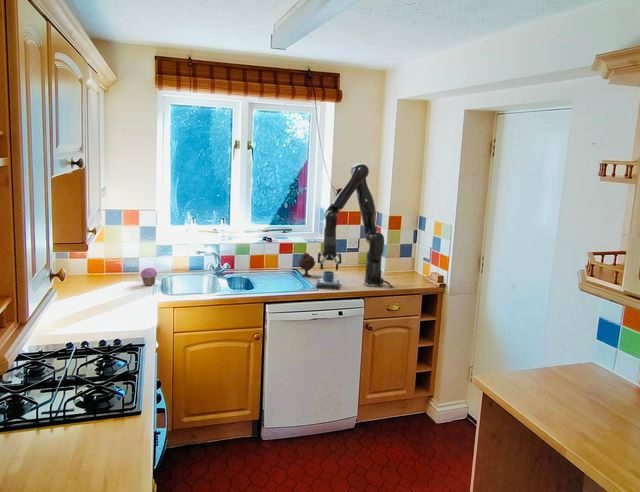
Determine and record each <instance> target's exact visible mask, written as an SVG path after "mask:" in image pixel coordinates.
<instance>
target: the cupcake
mask: <svg viewBox="0 0 640 492" xmlns="http://www.w3.org/2000/svg"><path fill="white" fill-rule="evenodd" d="M157 275H158V271H157V270H156V269H155V268H153V267H147V268H144V269H142V270H141V272H140V278H141V279H142V283H143V284H144V286H148V287H149V286H153V285H155V283H156V277H157Z"/></svg>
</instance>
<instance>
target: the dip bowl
mask: <svg viewBox="0 0 640 492" xmlns="http://www.w3.org/2000/svg"><path fill="white" fill-rule="evenodd" d="M322 273H323V275H322V276H323V277H322V279H323V280H324V281H325V282H332V281H333V279H334V278H335V277H334V275H335V272H334V271H332V270H325V271H323V272H322Z"/></svg>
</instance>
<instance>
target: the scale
mask: <svg viewBox="0 0 640 492" xmlns="http://www.w3.org/2000/svg"><path fill="white" fill-rule="evenodd" d="M316 289H322V290H339V289H340V280H339V279H333V281H332V282H325V281H324V280H323V278H319V279H317V283H316Z"/></svg>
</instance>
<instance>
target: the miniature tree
mask: <svg viewBox="0 0 640 492" xmlns="http://www.w3.org/2000/svg"><path fill="white" fill-rule="evenodd" d="M297 263H298V266H299V268H301V269H302V270H304V273H303V274H302V275H301V277H303V278H311V274H309V271H310V270H312V269H313V268H314V267H315V265H316V261H315V258H314V257H313V256H311V255H310V253H308V252H304V253H302V255H301V257H300V259H299V260H298V261H297Z"/></svg>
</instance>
